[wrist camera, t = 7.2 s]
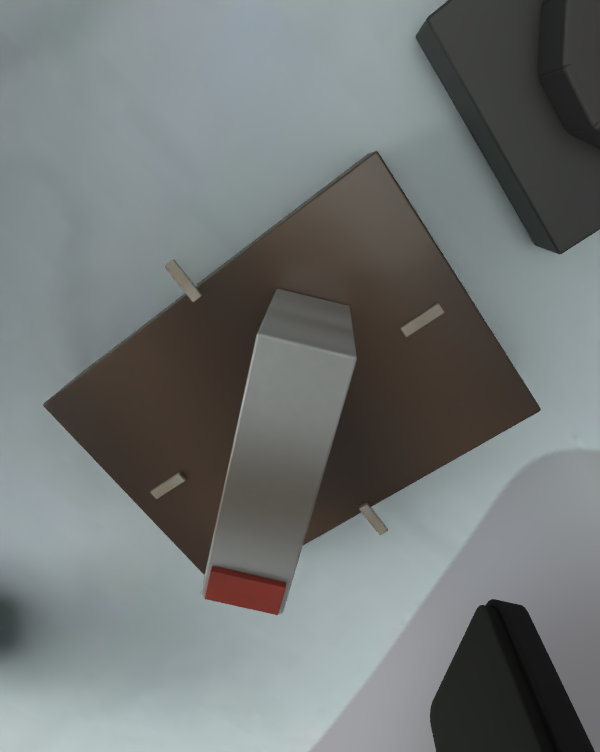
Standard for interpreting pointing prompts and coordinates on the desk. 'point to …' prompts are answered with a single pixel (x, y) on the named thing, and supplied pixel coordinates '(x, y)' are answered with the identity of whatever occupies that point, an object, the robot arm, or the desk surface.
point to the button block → (529, 103)
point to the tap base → (368, 383)
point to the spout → (280, 449)
